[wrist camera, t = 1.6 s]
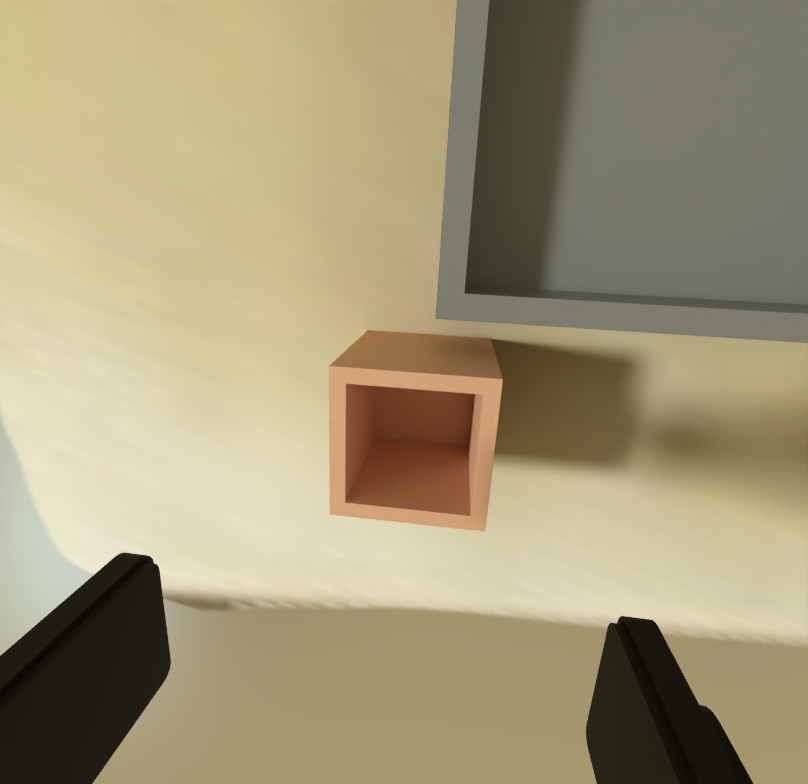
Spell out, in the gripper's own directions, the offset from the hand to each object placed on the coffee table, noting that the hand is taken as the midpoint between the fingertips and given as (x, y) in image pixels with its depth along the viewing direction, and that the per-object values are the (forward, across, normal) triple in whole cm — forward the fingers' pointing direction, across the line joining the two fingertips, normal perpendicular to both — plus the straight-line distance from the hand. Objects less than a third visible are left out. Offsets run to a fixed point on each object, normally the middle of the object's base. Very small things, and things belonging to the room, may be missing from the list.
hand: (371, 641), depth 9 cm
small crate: (+15, 0, -1) cm, 15 cm away
